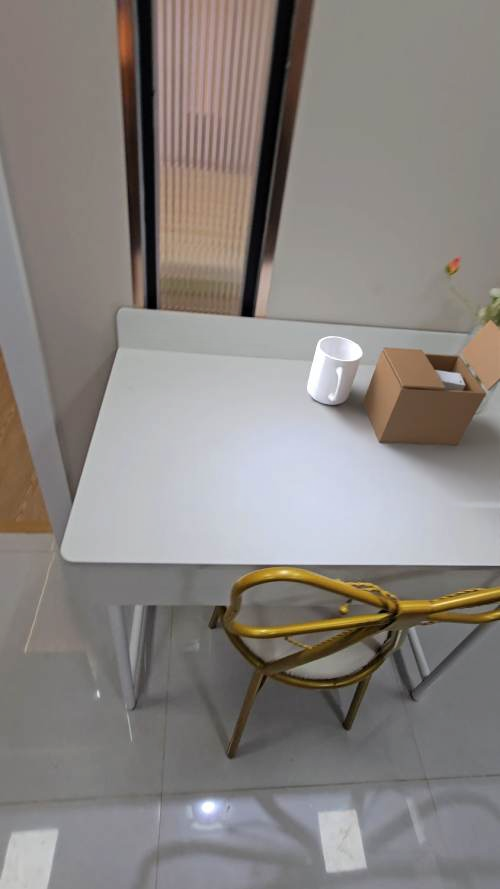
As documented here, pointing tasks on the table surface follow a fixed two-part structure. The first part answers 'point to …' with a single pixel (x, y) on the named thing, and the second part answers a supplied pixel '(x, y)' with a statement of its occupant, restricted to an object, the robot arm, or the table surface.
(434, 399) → the carton
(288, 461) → the table surface
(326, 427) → the table surface
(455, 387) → the cosmetic box
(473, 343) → the flap
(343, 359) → the mug
